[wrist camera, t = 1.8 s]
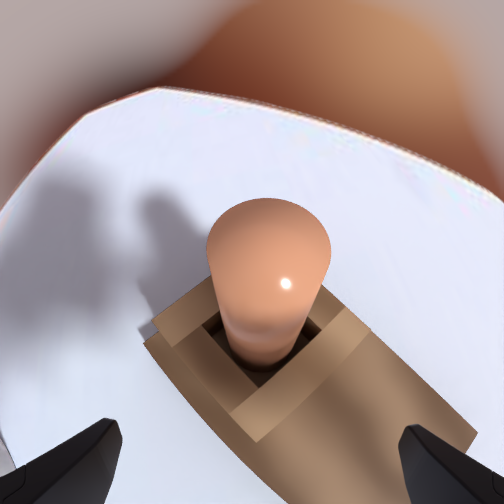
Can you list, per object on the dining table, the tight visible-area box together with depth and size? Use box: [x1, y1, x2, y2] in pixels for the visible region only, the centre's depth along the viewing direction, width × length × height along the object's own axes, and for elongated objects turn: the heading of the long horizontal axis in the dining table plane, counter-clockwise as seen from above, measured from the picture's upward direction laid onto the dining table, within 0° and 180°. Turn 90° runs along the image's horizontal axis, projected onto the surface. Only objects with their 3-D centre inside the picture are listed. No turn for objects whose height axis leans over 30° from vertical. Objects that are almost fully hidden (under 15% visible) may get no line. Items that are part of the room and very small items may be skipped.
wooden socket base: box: [143, 275, 478, 504], centre depth 17 cm, size 12×22×4 cm, turn 42°
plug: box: [206, 198, 331, 372], centre depth 15 cm, size 4×4×11 cm
